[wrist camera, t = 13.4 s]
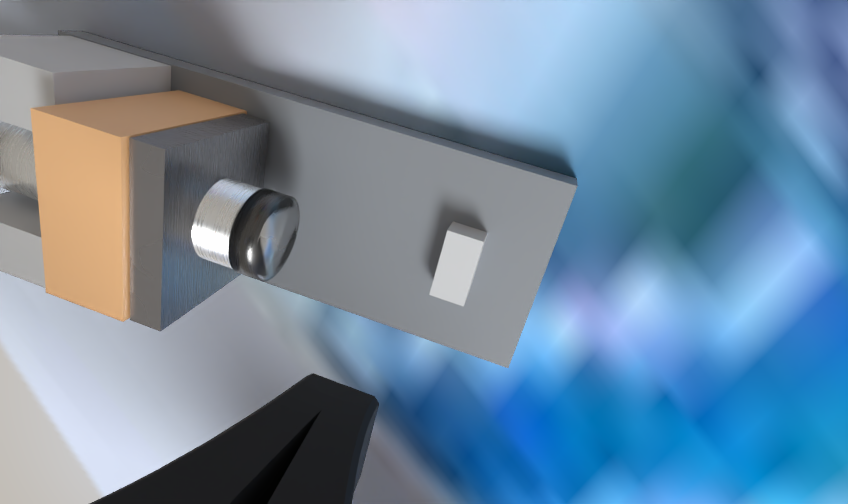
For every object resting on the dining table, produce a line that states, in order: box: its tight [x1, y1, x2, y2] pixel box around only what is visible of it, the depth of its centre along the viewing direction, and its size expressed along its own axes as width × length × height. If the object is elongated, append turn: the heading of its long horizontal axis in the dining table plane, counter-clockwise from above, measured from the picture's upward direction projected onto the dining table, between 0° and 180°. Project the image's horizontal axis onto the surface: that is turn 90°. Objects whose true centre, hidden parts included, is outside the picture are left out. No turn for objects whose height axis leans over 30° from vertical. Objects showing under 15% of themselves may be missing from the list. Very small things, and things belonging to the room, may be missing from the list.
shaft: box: [0, 113, 300, 331], centre depth 16 cm, size 12×5×5 cm, turn 76°
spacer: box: [30, 90, 247, 322], centre depth 16 cm, size 3×5×6 cm, turn 166°
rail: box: [0, 31, 577, 368], centre depth 17 cm, size 18×7×6 cm, turn 76°
